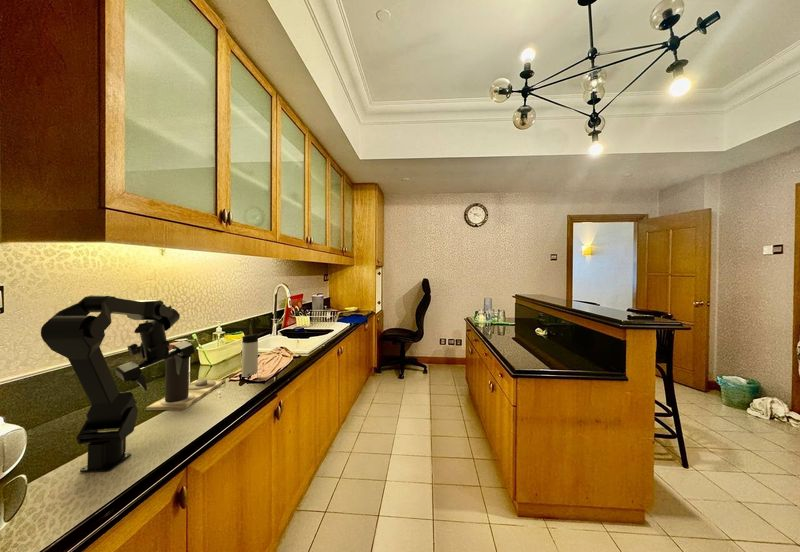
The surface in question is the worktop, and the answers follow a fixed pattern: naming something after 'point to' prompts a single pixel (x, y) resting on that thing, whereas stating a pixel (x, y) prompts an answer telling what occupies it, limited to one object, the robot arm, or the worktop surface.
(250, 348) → the travel mug
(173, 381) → the vinegar
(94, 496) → the worktop surface
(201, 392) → the board
